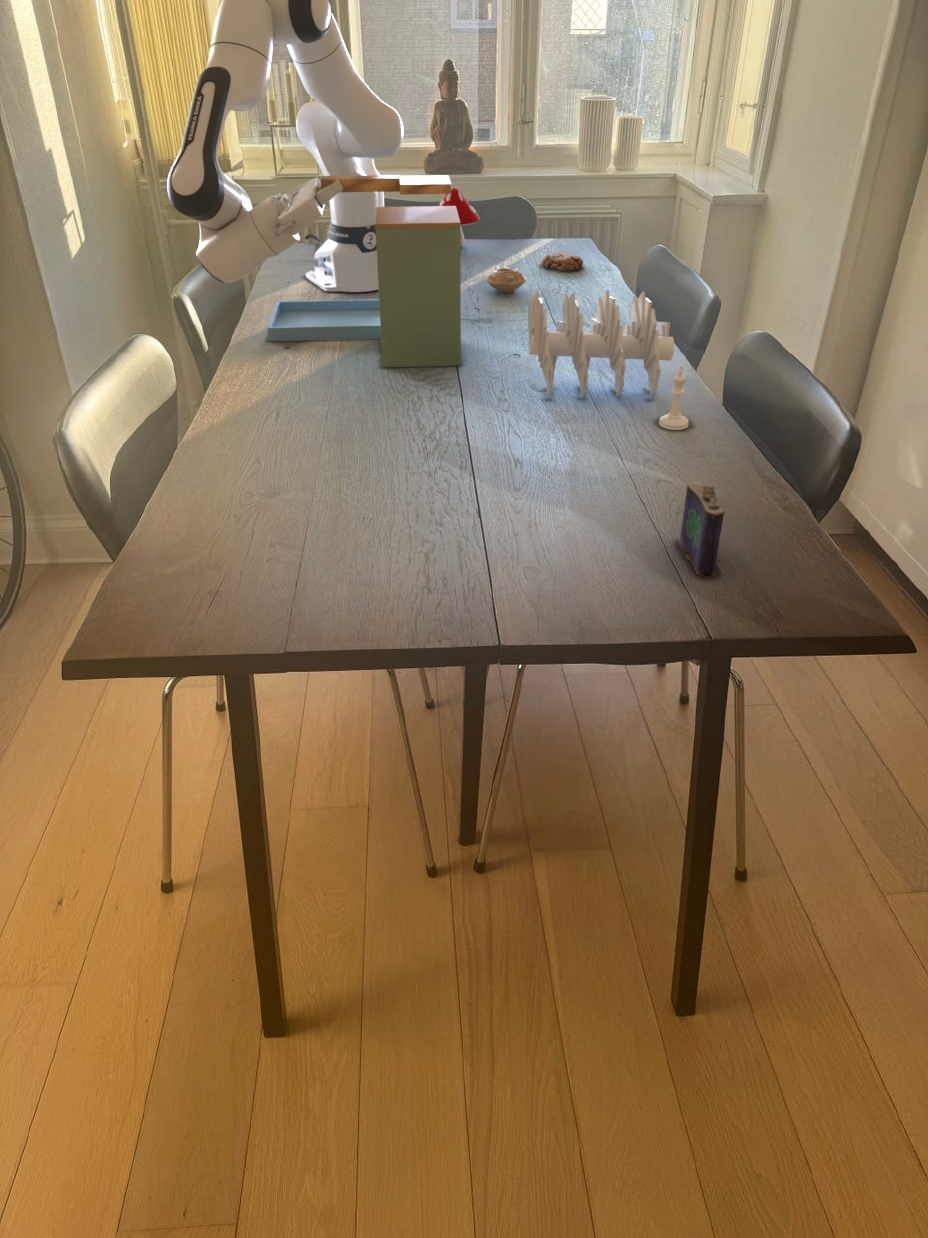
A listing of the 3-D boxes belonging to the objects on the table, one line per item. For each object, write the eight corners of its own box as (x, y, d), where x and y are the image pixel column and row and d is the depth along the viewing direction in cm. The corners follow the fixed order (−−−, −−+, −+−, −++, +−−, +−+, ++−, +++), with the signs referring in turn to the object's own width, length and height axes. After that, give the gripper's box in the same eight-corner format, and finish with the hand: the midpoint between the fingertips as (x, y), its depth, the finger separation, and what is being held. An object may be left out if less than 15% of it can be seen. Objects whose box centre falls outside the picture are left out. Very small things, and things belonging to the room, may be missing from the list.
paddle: (320, 195, 166) (319, 181, 165) (322, 186, 173) (321, 173, 171) (451, 193, 168) (451, 180, 166) (448, 184, 174) (448, 171, 173)
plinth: (382, 367, 182) (375, 223, 167) (383, 343, 193) (376, 206, 178) (460, 365, 182) (460, 222, 167) (456, 341, 194) (455, 205, 179)
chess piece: (690, 420, 161) (698, 362, 155) (686, 431, 157) (694, 373, 151) (661, 416, 162) (668, 359, 156) (656, 427, 158) (663, 369, 152)
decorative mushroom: (423, 252, 253) (421, 191, 244) (433, 240, 264) (432, 181, 255) (475, 254, 251) (475, 193, 242) (483, 242, 262) (483, 183, 253)
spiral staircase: (664, 422, 170) (525, 416, 169) (655, 350, 179) (522, 344, 177) (690, 346, 154) (537, 339, 153) (679, 271, 163) (534, 265, 162)
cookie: (542, 261, 246) (543, 249, 244) (583, 262, 244) (584, 250, 243) (539, 271, 237) (540, 259, 236) (582, 273, 236) (583, 260, 234)
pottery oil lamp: (516, 278, 230) (528, 254, 225) (516, 309, 223) (529, 285, 218) (482, 266, 228) (493, 242, 222) (482, 297, 221) (493, 272, 215)
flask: (675, 541, 127) (686, 468, 121) (696, 540, 127) (708, 467, 121) (698, 578, 120) (711, 502, 113) (721, 576, 120) (735, 501, 114)
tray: (269, 341, 194) (267, 327, 192) (277, 313, 209) (276, 300, 208) (423, 338, 196) (423, 324, 194) (421, 310, 211) (420, 298, 209)
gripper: (261, 220, 162) (328, 175, 159) (273, 195, 179) (334, 154, 175) (283, 253, 165) (350, 210, 162) (293, 225, 182) (353, 186, 179)
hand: (342, 180), depth 169 cm, fingers closed on paddle, 3 cm apart
